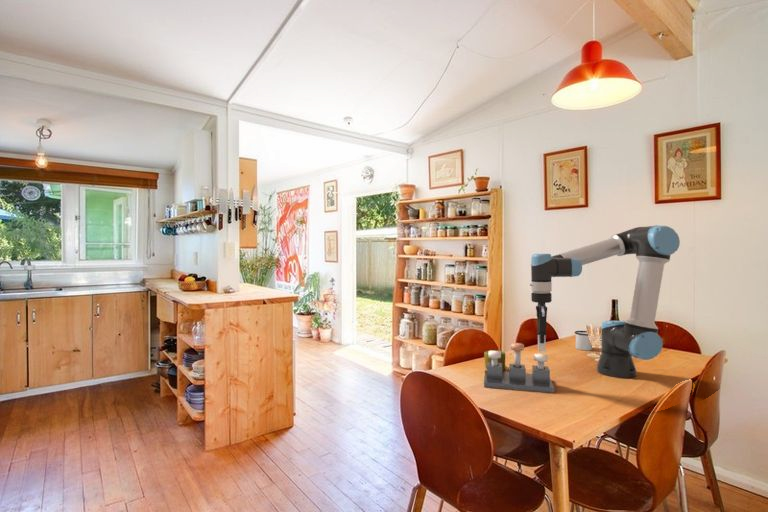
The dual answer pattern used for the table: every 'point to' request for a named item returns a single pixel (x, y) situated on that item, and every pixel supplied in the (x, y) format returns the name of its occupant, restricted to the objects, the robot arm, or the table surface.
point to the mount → (518, 378)
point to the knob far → (494, 357)
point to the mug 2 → (583, 341)
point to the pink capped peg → (517, 353)
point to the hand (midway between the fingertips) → (541, 350)
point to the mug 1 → (500, 360)
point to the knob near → (541, 360)
